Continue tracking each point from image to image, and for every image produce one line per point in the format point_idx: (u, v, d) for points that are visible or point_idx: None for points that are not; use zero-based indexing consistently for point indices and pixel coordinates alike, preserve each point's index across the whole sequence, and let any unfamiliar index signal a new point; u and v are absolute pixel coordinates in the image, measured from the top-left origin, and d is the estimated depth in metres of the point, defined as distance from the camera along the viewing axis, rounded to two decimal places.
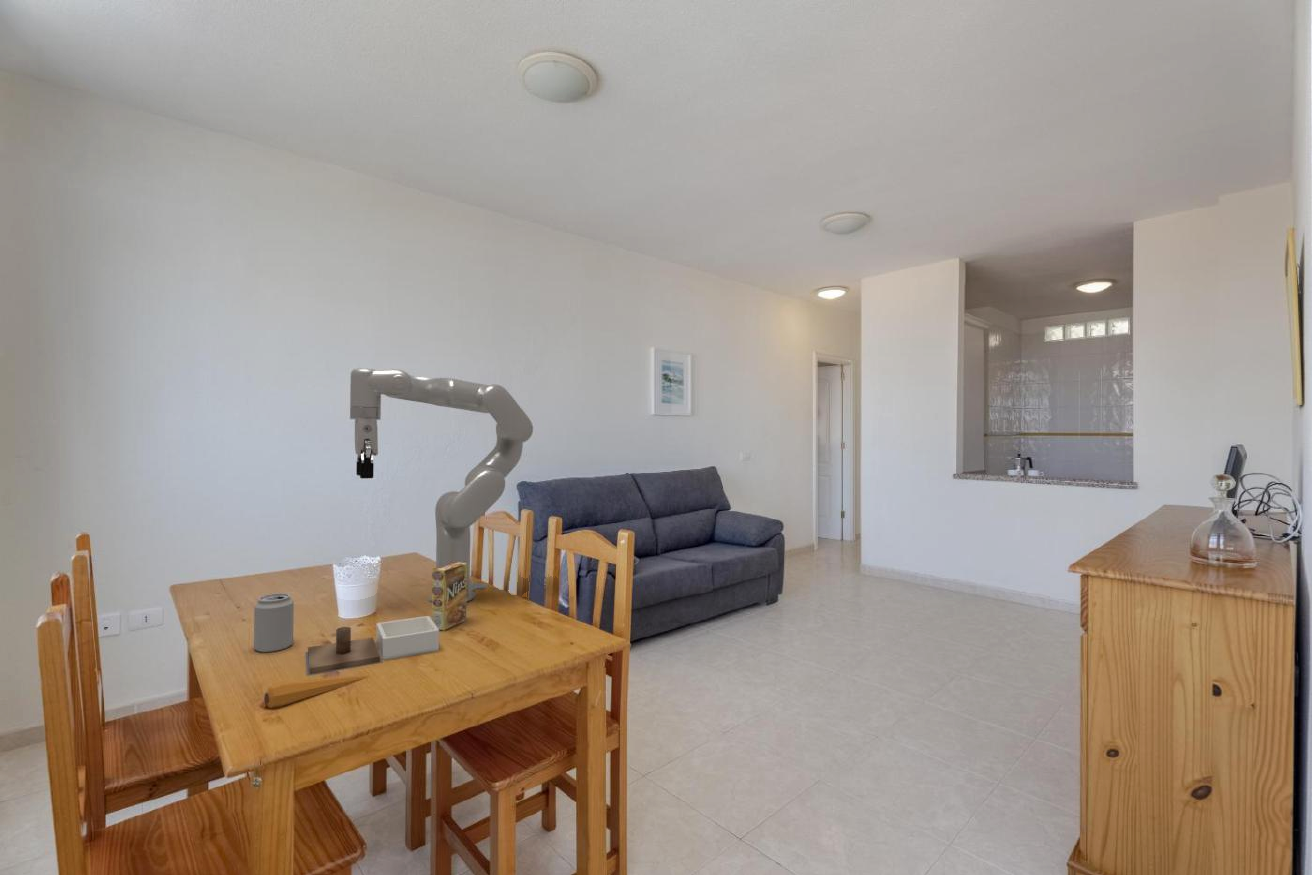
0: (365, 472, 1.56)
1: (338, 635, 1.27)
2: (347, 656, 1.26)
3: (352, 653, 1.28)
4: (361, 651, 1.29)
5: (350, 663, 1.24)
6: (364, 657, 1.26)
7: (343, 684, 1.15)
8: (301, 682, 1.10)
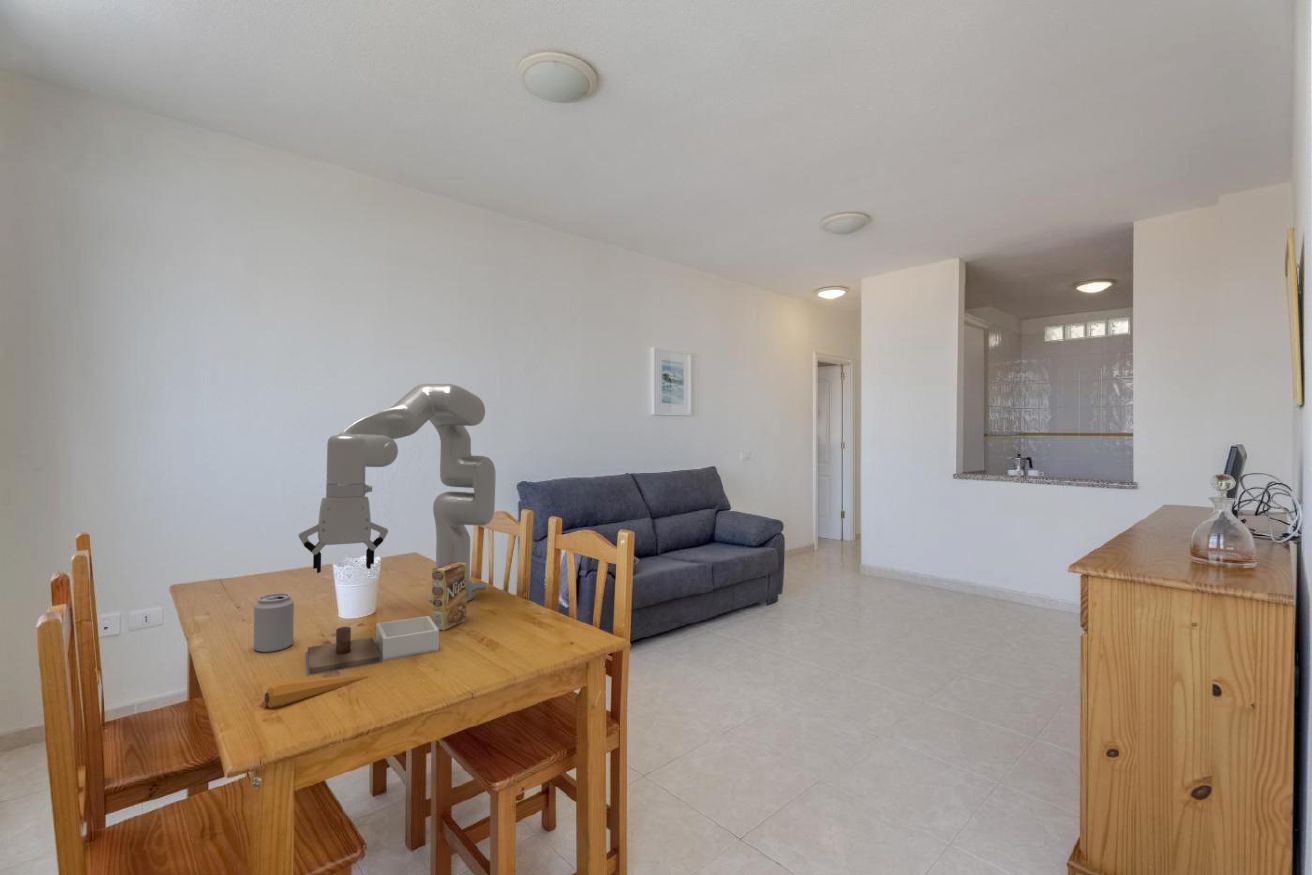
0: None
1: (338, 635, 1.27)
2: (347, 656, 1.26)
3: (352, 653, 1.28)
4: (361, 651, 1.29)
5: (350, 663, 1.24)
6: (364, 657, 1.26)
7: (343, 684, 1.15)
8: (301, 682, 1.10)
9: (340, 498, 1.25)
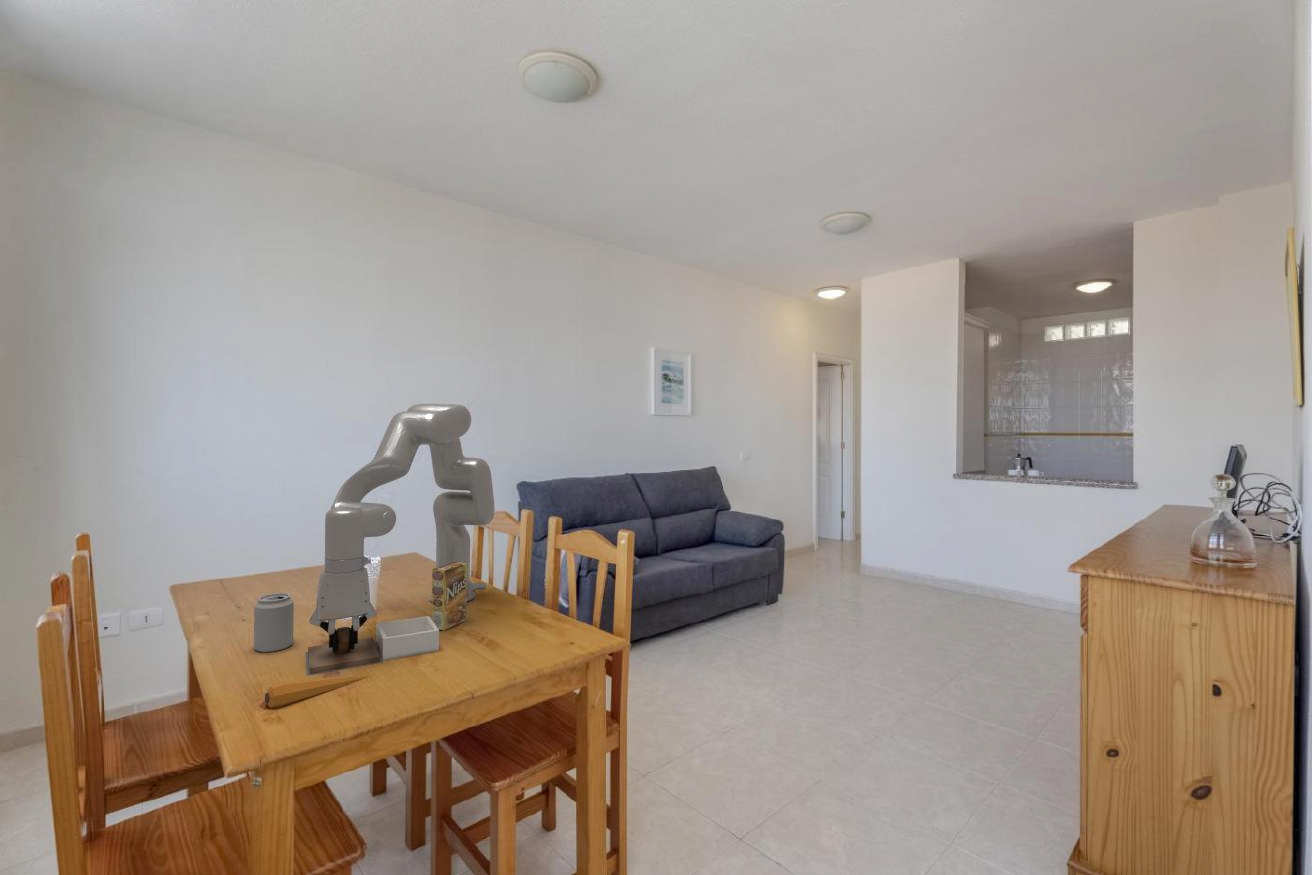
0: None
1: (338, 635, 1.27)
2: (347, 656, 1.26)
3: (352, 653, 1.28)
4: (361, 651, 1.29)
5: (350, 663, 1.24)
6: (364, 657, 1.26)
7: (343, 684, 1.15)
8: (301, 682, 1.10)
9: (339, 574, 1.25)
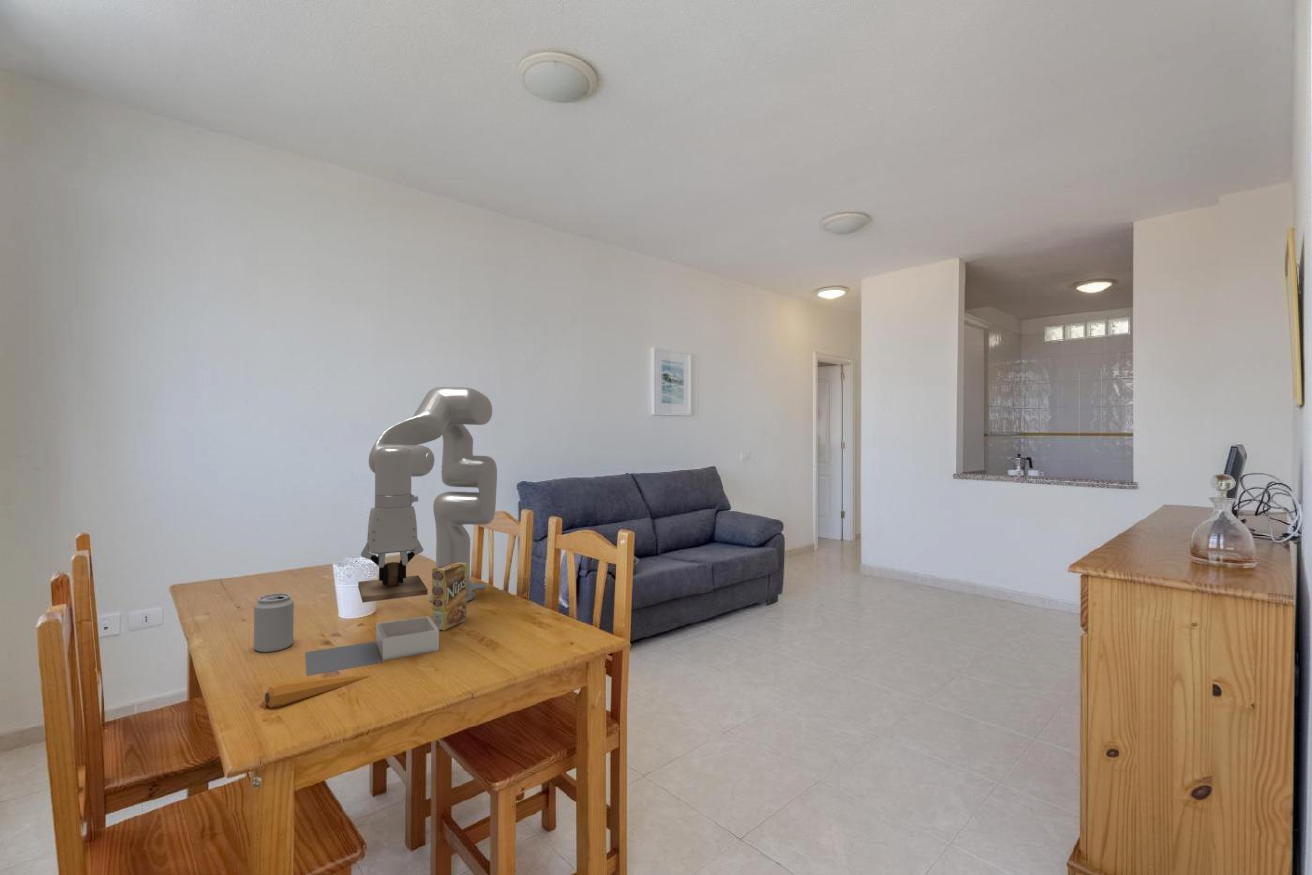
0: None
1: (388, 569, 1.32)
2: (396, 589, 1.31)
3: (401, 586, 1.33)
4: (409, 585, 1.34)
5: (400, 594, 1.29)
6: (412, 589, 1.31)
7: (343, 683, 1.15)
8: (301, 681, 1.10)
9: (389, 509, 1.30)
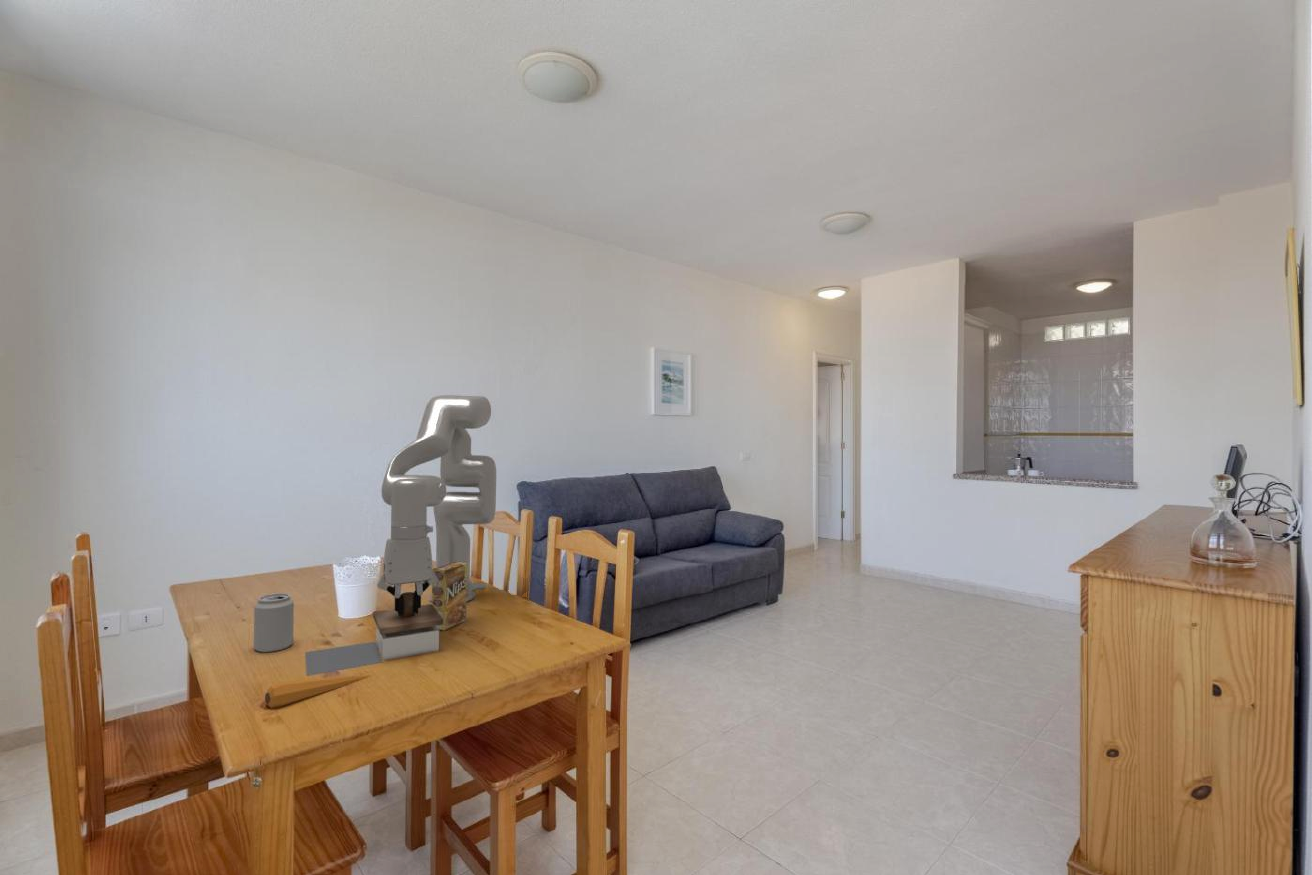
0: None
1: (403, 599, 1.34)
2: (412, 619, 1.33)
3: (416, 617, 1.34)
4: (424, 615, 1.36)
5: (417, 625, 1.30)
6: (428, 620, 1.32)
7: (344, 684, 1.15)
8: (302, 682, 1.10)
9: (405, 540, 1.32)
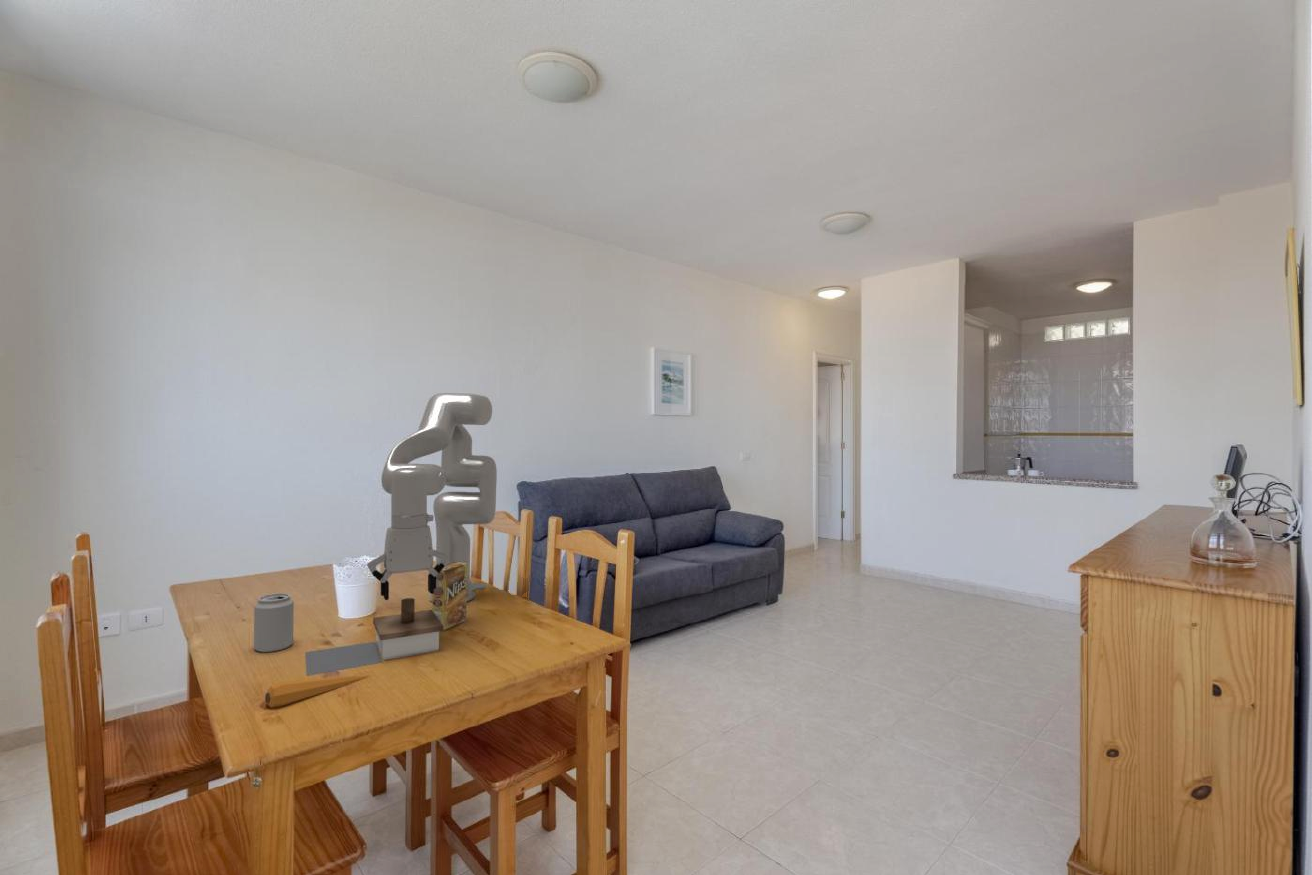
0: None
1: (403, 605, 1.34)
2: (412, 625, 1.33)
3: (416, 623, 1.35)
4: (424, 621, 1.36)
5: (417, 631, 1.30)
6: (428, 626, 1.32)
7: (344, 684, 1.15)
8: (302, 682, 1.10)
9: (406, 529, 1.32)
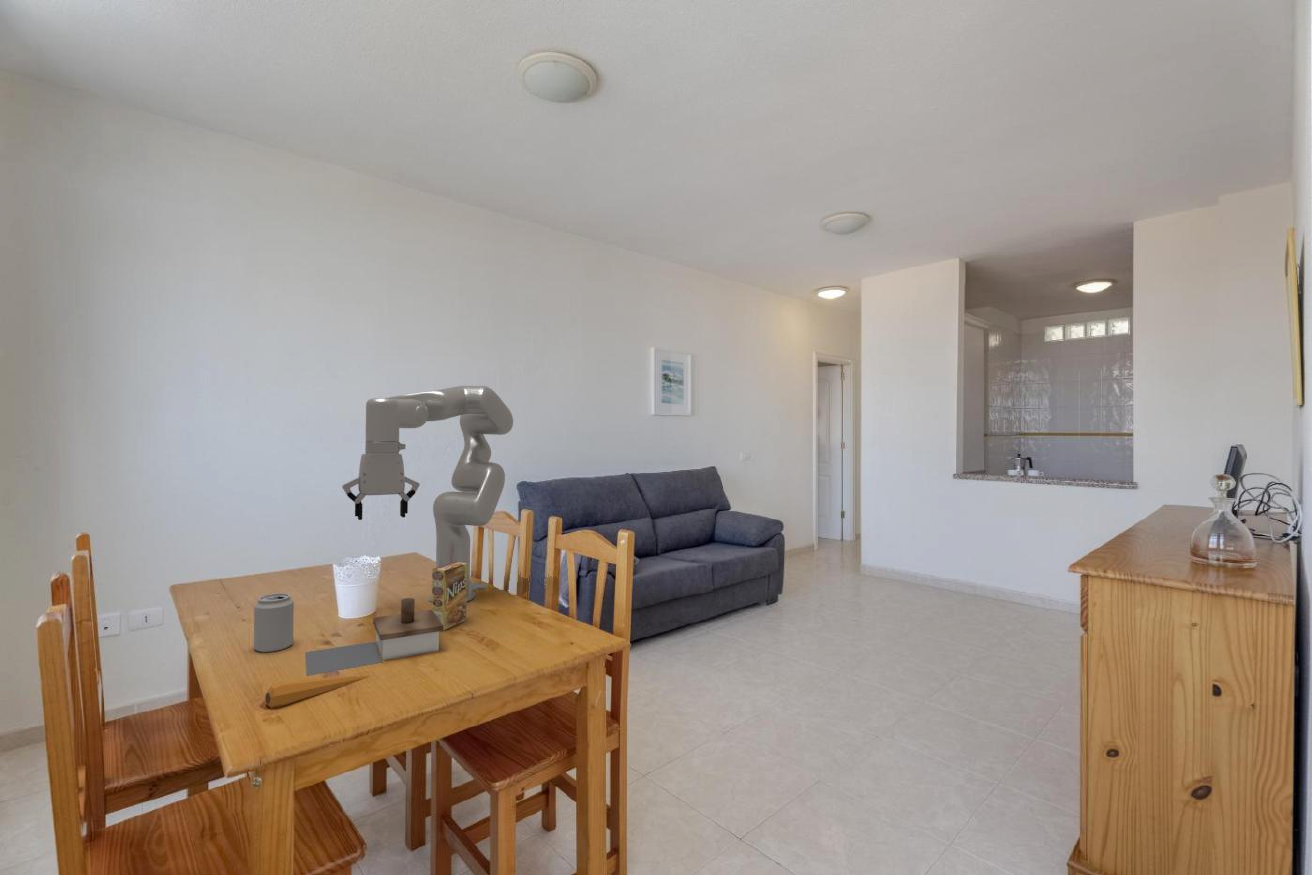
0: None
1: (403, 605, 1.34)
2: (412, 625, 1.33)
3: (416, 623, 1.35)
4: (424, 621, 1.36)
5: (417, 631, 1.30)
6: (428, 626, 1.32)
7: (344, 684, 1.15)
8: (302, 682, 1.10)
9: (379, 454, 1.42)
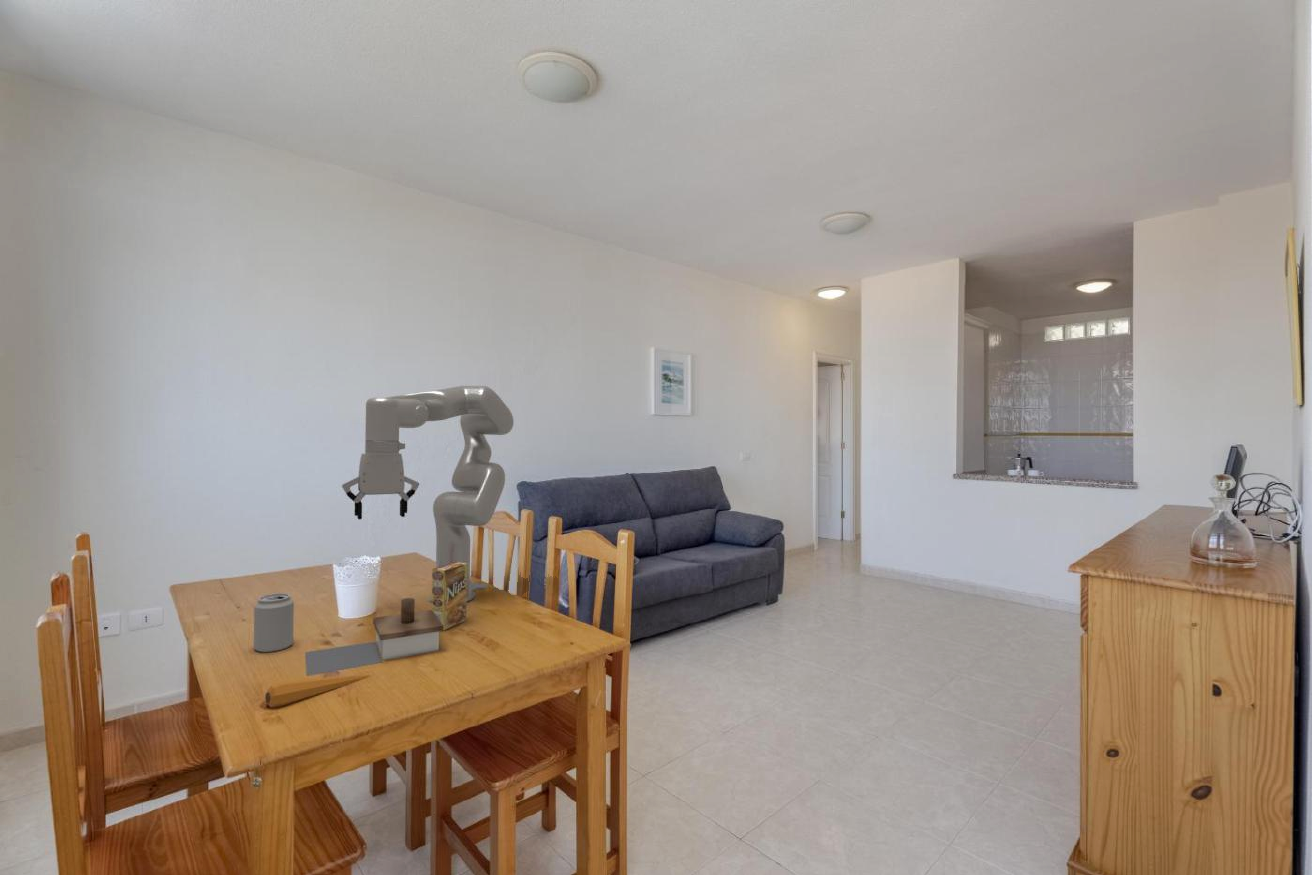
0: None
1: (403, 605, 1.34)
2: (412, 625, 1.33)
3: (416, 623, 1.35)
4: (424, 621, 1.36)
5: (417, 631, 1.30)
6: (428, 626, 1.32)
7: (344, 683, 1.15)
8: (302, 681, 1.10)
9: (378, 453, 1.42)
